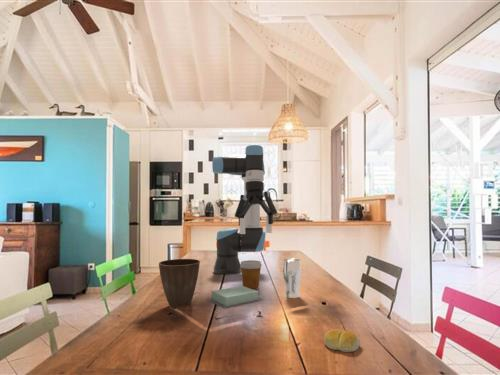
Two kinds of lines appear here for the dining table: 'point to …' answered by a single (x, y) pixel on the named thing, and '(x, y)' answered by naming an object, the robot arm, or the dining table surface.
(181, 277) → the plant pot
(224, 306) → the rubber mat
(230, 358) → the dining table surface
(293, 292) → the beer glass
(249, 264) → the disposable coffee cup
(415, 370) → the dining table surface
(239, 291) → the board
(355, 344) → the bread roll
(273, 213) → the robot arm
